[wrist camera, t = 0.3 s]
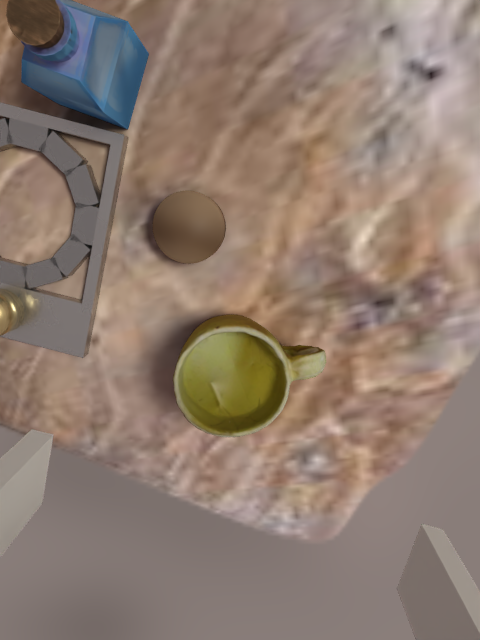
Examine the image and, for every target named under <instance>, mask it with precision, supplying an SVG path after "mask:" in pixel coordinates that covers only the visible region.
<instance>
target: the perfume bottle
mask: <svg viewBox="0 0 480 640" xmlns="http://www.w3.org/2000/svg"><path fill="white" fill-rule="evenodd" d="M6 16H7V20H8V25H9V27H10V29H11V30H12V32H13V34H14V35H15V36H16V37H17V38H18V39H19V40H21V42H22V43H23V44H24V46H25V47H24V52H23V56H22V79H21V82H22V83H24V84H25V85H27V86H29V87H30V88H32V89H34V90H36V91H37V92H39V93H41V94H42V95H44V96H46V97H47V98H49V99H51V100H52V101H54V102H56V103H58V104H59V105H62V106H65V107H68V108H70V109H73V110H76V111H79V112H81V113H84V114H87V115H90V116H92V117H95V118H98V119H100V120H103V121H106V122H109V123H111V124H114V125H117V126H120V127H122V128H125V129H128V128H129V124H130V120H131V117H132V113H133V109H134V106H135V102H136V99H137V95H138V91H139V88H140V84H141V81H142V77H143V73H144V70H145V66H146V63H147V59H148V55H149V53H148V52H147V50H146V49H145V47H144V46H143V44H142V43H141V41H140V40H139V38H138V37H137V35H136V34H135V32H134V31H133V29H132V27H131V26H130V24H129V23H128V21H125V20H123V19H120V18H117V17H115V16H112V15H109V14H106V13H104V12H101V11H98V10H96V9H93V8H90V7H88V6H85V5H82V4H80V3H77V2H74V1H72V0H9V1H8V4H7V12H6Z"/></svg>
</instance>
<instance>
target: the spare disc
mask: <svg viewBox="0 0 480 640" xmlns="http://www.w3.org/2000/svg"><path fill="white" fill-rule="evenodd" d="M225 230H226V225H225V219H224V216H223V213H222V211H221V209H220V208H219V206H218V205H217V204H216V203H215V202H214V201H213V200H212V199H210V198H209V197H207V196H205V195H203V194H201V193H198V192H195V191H180V192H176V193H174V194H172V195H170V196H168V197H167V198H165V199H164V200H163V201H162V202H161V204H160V205H159V206H158V208H157V210H156V212H155V214H154V218H153V234H154V238H155V241H156V243H157V245H158V246H159V248H160V249H161V251H162V252H163V253H164V254H165V255H167V256H168V257H169V258H171V259H173V260H175V261H177V262H180V263H188V264H190V263H197V262H201V261H203V260H205V259H207V258H208V257H210V256H211V255H213V254H214V253H215V252H216V251H217V250H218V249H219V247H220V246H221V244H222V242H223V240H224V236H225Z"/></svg>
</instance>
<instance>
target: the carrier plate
mask: <svg viewBox="0 0 480 640" xmlns="http://www.w3.org/2000/svg"><path fill="white" fill-rule="evenodd" d="M0 117H4V118H3V119H0V151H3V150H6V149H10V148H13V147H16V146H20V147H24V148H28V149H31V150H35V151H39V152H42V153H43V154H44V155H45V156H46V157H47V158H48V159H49V160H50V161H51V162H52V163H54V164H55V165H56V166H57V167H58V168H59V169H60V170H61V171H62V172H63V173H64V174H65V176H66V178H67V181H68V184H69V187H70V190H71V193H72V196H73V199H74V202H75V205H76V208H75V214H74V220H73V226H72V232H71V237H70V238H69V239H68V240H67V241H66V243H65V244H64V245H63V246H62V247H61V248H60V249H59V251H58V252H57V253H56V254H55V255H54V256H53V258H51V259H48V260H45V261H41V262H38V263H34V264H31V265H28V264H24V263H20V262H16V261H12V260H9V259H5V258H2V257H1V256H0V337H4V338H8V339H12V340H16V341H20V342H24V343H28V344H32V345H35V346H39V347H43V348H47V349H51V350H55V351H59V352H63V353H67V354H71V355H75V356H78V357H82V358H83V357H85V356H86V355H87V354H88V351H89V346H90V341H91V335H92V330H93V325H94V319H95V314H96V309H97V303H98V298H99V293H100V287H101V282H102V277H103V271H104V266H105V261H106V255H107V250H108V245H109V239H110V234H111V229H112V223H113V218H114V213H115V207H116V202H117V197H118V191H119V186H120V181H121V175H122V170H123V164H124V159H125V154H126V148H127V143H128V137H127V136H125V135H122V134H119V133H115V132H111V131H107V130H103V129H100V128H96V127H92V126H88V125H84V124H81V123H77V122H73V121H69V120H65V119H61V118H58V117H54V116H50V115H46V114H42V113H39V112H35V111H31V110H27V109H23V108H20V107H16V106H12V105H8V104H4V103H1V102H0ZM6 118H7V119H6ZM8 119H10V120H8ZM55 131H57V132H61V133H65V134H69V135H72V136H76V137H80V138H84V139H88V140H91V141H95V142H99V143H103V144H107V145H110V150H109V156H108V161H107V167H106V172H105V178H104V184H103V189H102V195H100V192H99V189H98V186H97V183H96V180H95V177H94V174H93V171H92V168H91V166H90V165H87V164H86V163H87V162H88V161H87V160H86V159H85V158H84V157H83V156H82V155H81V154H80V153H79V152H78V151H77V150H76V149H75V148H74V147H73V146H72V145H71V144H70V143H69V142H68V141H66V140H65V139H64V138H63V137H62V136H61V135H60V134H59V133H57V132H55ZM97 205H100V206H99V207H96V206H97ZM91 245H92V246H91ZM90 254H91V256H90ZM89 256H90V261H89V267H88V273H87V278H86V284H85V289H84V295H83V300H79V299H76V298H72V297H68V296H64V295H60V294H56V293H52V292H48V291H44V290H41V289H37V288H34V287H37V286H41V285H44V284H48V283H51V282H54V281H58V280H61V279H65V278H68V276H71V275H73V274H74V272H75V271H76V270H77V269H78V268H79V267H80V266H81V265H82V263H83V262H84V261H85V260H86V259H87V258H88V257H89Z"/></svg>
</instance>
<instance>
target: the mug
mask: <svg viewBox="0 0 480 640" xmlns="http://www.w3.org/2000/svg"><path fill="white" fill-rule="evenodd" d="M325 364H326V355H325V351H324V350H322V349H320V348H319V347H312V346H302V345H298V346H288V347H287V346H282V345H280V344H279V343H278V341H277V340H276V339H275V337H274V336H273V335H272V334H271V333H270V332H269V331H268V330H266V329H265V328H264V327H262V326H261V325H259V324H258V323H256V322H255V321H253V320H251V319H249V318H247V317H244V316H240V315H222V316H217V317H213V318H211V319H209V320H207V321H205V322H204V323H202V324H201V325H200V326H198V327H197V328H196V329H195V330H194V331H193V333H192V334H191V335H190V337H189V338H188V340H187V341H186V343H185V344H184V346H183V348H182V350H181V353H180V355H179V358H178V362H177V364H176V368H175V372H174V375H173V384H174V394H175V397H176V402H177V405H178V406H179V408H180V410H181V411H182V413H183V414H184V416H185V418H186V419H187V420H188V421H189V422H190V423H191V424H193V425H194V426H195V427H197V428H198V429H200V430H202V431H204V432H206V433H209V434H212V435H216V436H220V437H240V436H244V435H248V434H252V433H255V432H257V431H259V430H261V429H263V428H265V427H266V426H268V425H269V424H270V423H271V422H272V421H273V420H274V419H275V418H276V417H277V416H278V415H279V414H280V412H281V411H282V409H283V408H284V406H285V403H286V401H287V397H288V394H289V387H290V384H291V382H292V381H294V380H304V379H309V378H313V377H316V376H317V375H318V374H319V373H321V372H322V371H323V369H324V367H325Z"/></svg>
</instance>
